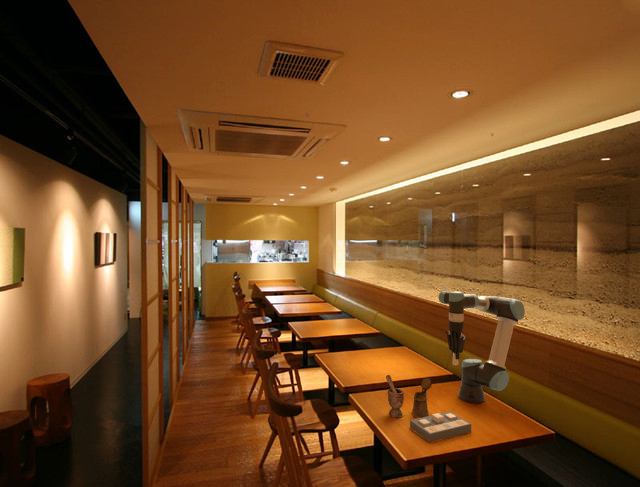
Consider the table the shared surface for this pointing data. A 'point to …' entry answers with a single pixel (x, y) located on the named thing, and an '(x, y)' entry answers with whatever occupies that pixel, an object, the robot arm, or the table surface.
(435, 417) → the button middle
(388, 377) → the mortar and pestle
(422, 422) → the button
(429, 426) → the button panel
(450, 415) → the button
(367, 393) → the table surface
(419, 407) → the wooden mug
